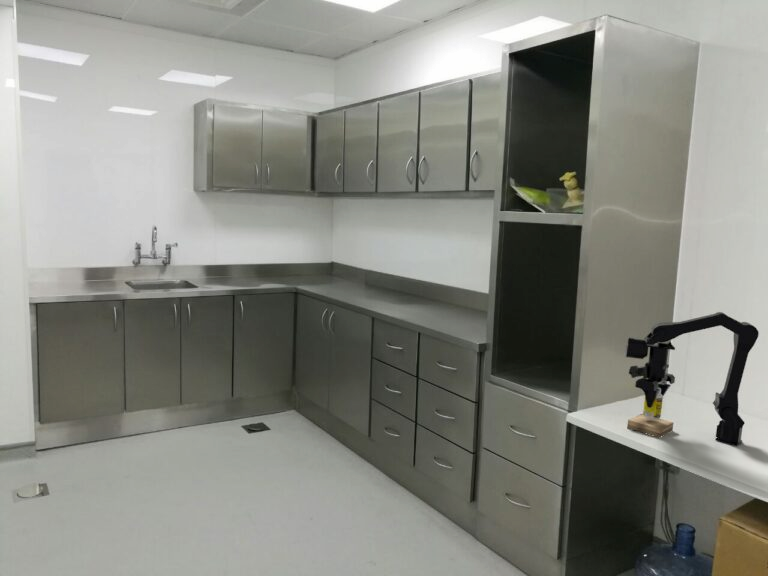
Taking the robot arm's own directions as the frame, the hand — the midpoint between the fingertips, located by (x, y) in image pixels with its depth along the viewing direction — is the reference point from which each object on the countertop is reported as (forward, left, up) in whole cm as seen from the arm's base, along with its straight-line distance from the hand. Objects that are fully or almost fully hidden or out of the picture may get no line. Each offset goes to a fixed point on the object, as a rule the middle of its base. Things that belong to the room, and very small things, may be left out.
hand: (652, 405), depth 214 cm
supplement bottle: (0, 0, -4) cm, 4 cm away
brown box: (0, 0, -8) cm, 8 cm away
